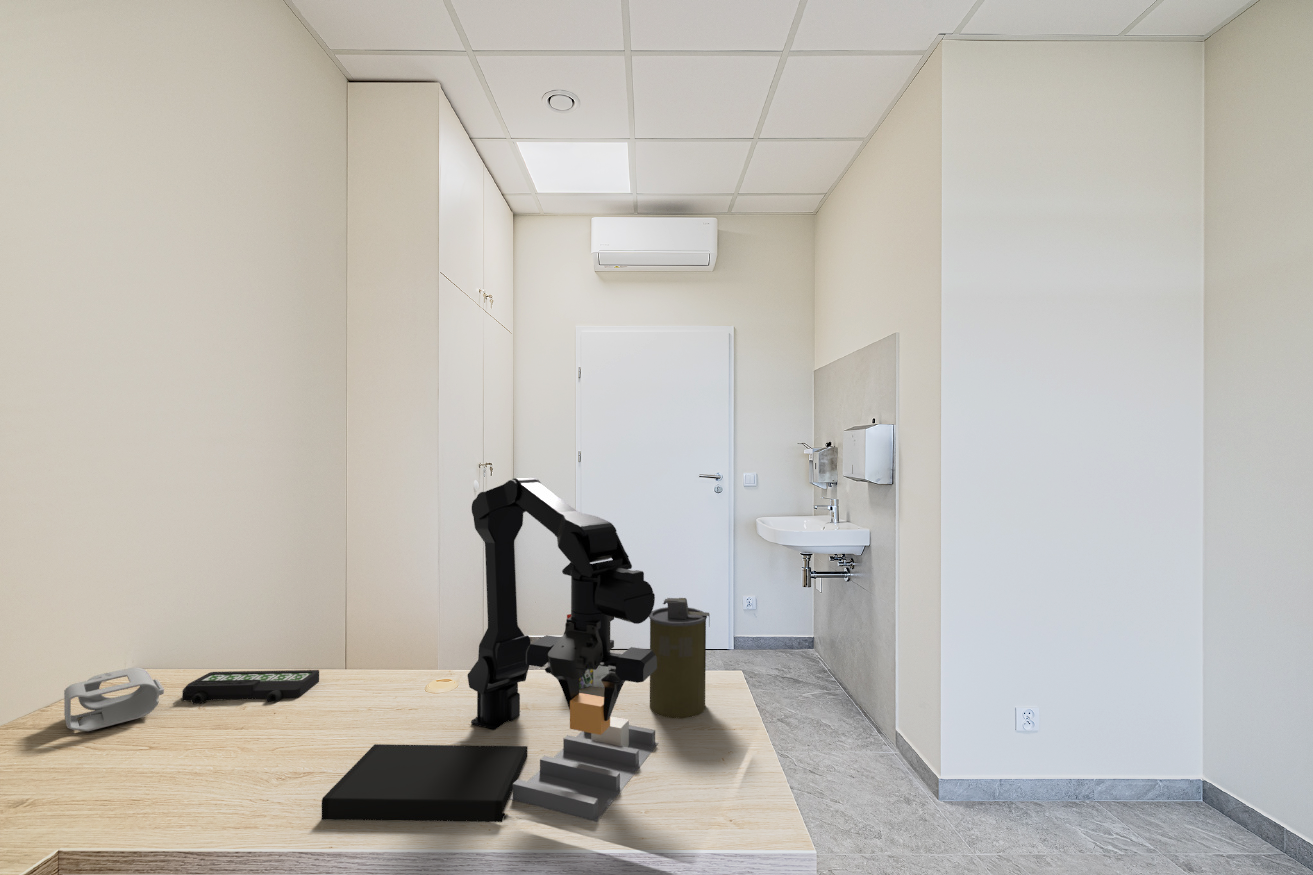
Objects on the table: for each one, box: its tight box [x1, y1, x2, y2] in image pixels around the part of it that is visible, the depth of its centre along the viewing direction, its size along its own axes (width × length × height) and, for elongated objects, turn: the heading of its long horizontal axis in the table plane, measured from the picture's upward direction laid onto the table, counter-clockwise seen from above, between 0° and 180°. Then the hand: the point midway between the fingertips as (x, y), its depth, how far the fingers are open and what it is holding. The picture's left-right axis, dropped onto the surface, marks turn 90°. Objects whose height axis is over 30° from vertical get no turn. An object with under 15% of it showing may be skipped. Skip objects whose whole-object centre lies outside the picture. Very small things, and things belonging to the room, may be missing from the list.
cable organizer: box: [63, 666, 165, 732], centre depth 106 cm, size 7×12×12 cm
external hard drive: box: [321, 743, 528, 823], centre depth 84 cm, size 14×23×3 cm, turn 89°
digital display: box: [181, 669, 320, 705], centre depth 116 cm, size 21×3×10 cm
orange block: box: [569, 692, 610, 735], centre depth 88 cm, size 5×3×4 cm, turn 69°
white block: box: [591, 715, 630, 747], centre depth 94 cm, size 5×3×4 cm, turn 69°
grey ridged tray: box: [508, 724, 659, 823], centre depth 88 cm, size 13×21×3 cm, turn 159°
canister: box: [648, 597, 711, 720], centre depth 109 cm, size 11×10×20 cm
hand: (590, 716), depth 88 cm, fingers closed on orange block, 5 cm apart
